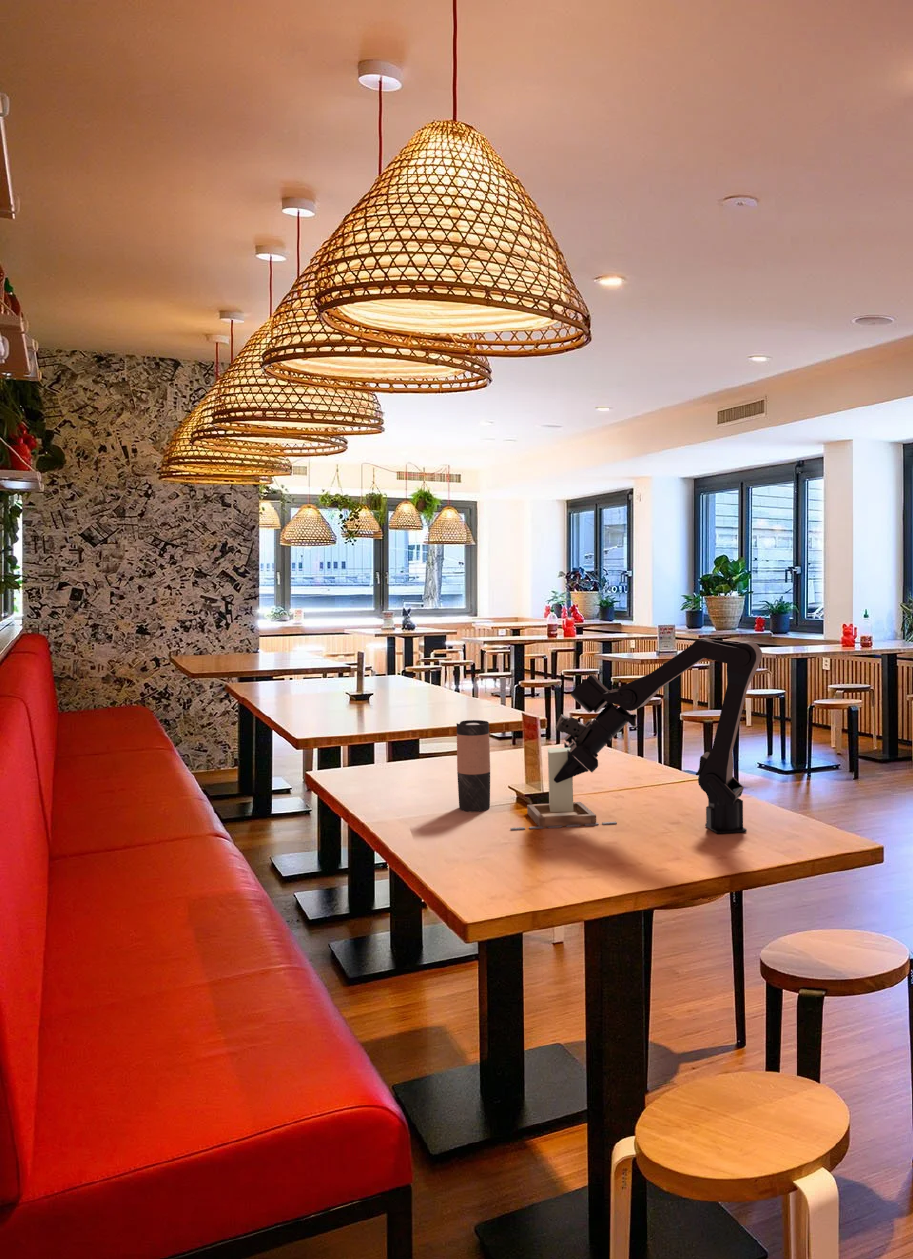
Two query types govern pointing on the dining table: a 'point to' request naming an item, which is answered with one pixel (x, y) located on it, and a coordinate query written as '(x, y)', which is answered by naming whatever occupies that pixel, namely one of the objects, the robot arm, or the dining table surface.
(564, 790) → the stub block
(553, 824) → the stub tray
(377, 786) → the dining table surface
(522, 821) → the dining table surface
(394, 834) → the dining table surface
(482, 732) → the travel mug
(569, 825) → the perforation line
